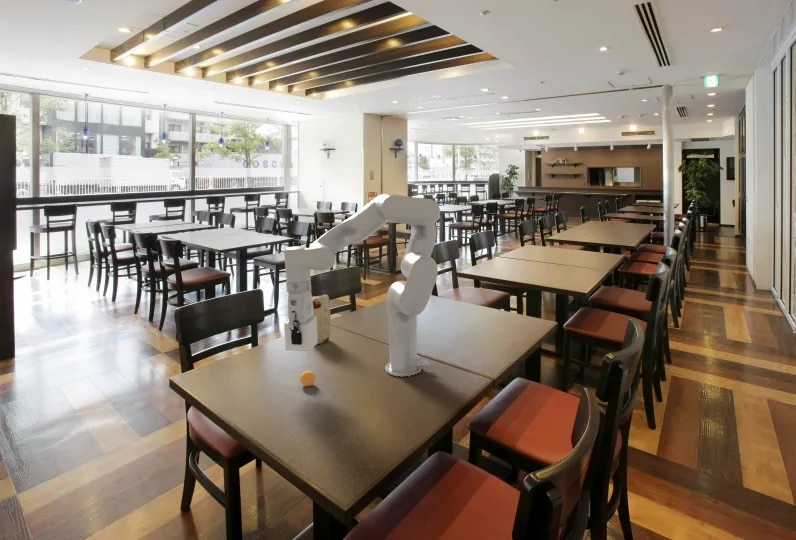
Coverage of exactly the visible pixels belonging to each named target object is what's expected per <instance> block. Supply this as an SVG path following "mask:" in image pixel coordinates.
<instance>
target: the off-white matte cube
mask: <svg viewBox="0 0 796 540" xmlns="http://www.w3.org/2000/svg"><path fill="white" fill-rule="evenodd" d="M295 322H298V321H295ZM288 323H289V319H288V320H286V321H285V322H284V323H283V325H284V326H283V328H284V329H283V330H284V342H285V351H294V352H296V351H297V352H310V351H311V350H312V349H314V347H315V346H317V345H318V344H317V343H318V338H317V319H316V317H312V318H311V319H310V320H309V321H307V322H306V323H305V324H302V323H301V324H300V327H301V329H300V332H301V334H302V344H301V345H295V344H292V341H291V332H290V328H289V325H288ZM295 326H296V327H297V328H298V325H296V324H295Z"/></svg>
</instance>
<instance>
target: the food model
mask: <svg viewBox="0 0 796 540" xmlns="http://www.w3.org/2000/svg"><path fill="white" fill-rule="evenodd" d="M312 300H313V309H314V315H313V317H316V319H317V338H318V343H317V344H316V345H318V344H324V343H326V342H329V340H330V334H331V318H332V317H331V306H330V305H331V304H330V298H329V295H328V294H322V295H317V296H312Z"/></svg>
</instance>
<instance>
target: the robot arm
mask: <svg viewBox="0 0 796 540" xmlns="http://www.w3.org/2000/svg"><path fill="white" fill-rule="evenodd" d="M440 215H441V208H440V206H439V204H438V203H437V201H435V200H433V199H432V198H424V197H423V198H422V197H415V196H414V197H413V196H408V195H407V196H406V195H400V194H395V193H382V194H379V195H377V196H376V197H375V198H374V199H372V200H370V202H368V203H367V204H366V205H364V206H363V207H362V208H361V209H359V210H358V211H357V212H355V213H354V214H352V215H351V216H350V217H348V218H347V219H345V220H344V221H342V222H341V223H339V224H337V225H335V227H332V228H331V229H329V230H328V231H327V232H325V233H324V234H323V235H322V236H320V237H319V238H318V239H316V240H315V241H313V243H311V244H310V246H309V247H306V246H303V245H298V246H297V245H295V246H289V247H286V248H285V250H284V252H283V254H284V268H285V283H286V293H288V294H287V295H288V296H287V302H288V303H287V314H288V315H287V316H288V320H289V323H288V325H289V328H290V332H291V341H292V344H295V345H301V344H302V334H301V332H300V329H301V327H300V324H301V323H302V324H305V323H306V322H307V321H309V320H310V319H311V318H312V317H313V315H314V309H313V300H312V297H313V294H312V279H311V277H312V276H311V275H312V274H311V270H314V271H315V270H317V271H326V270H329V269H331V268H333V267H334V265H335V264H336V261H337V256H336V254H337V253H338V252H339V251H342V249H344V248H345V247H347V246H350V245H353V244H357V243H360V242H363V241H365V240H367V239H368V238H369V237H371V236H372V235H373V234H375V233H376V232H377V231H378V230H380V229H381V228H383V226H385V225H387V223H388V222H391V223H397V224H404V225H410V228H411V231H410V237H409V240H408V243H407V245H406V249H405V252H404V254H403V257H402V259H401V263H400V271H401V273H402V275H404V276H405V277H406V280H398V281H395V282H393V283H392V284H391V285H390V286H389V287H388V290H387V292H386V293H387V294H386V301H387V307H388V308H387V309H388V319H389V321H388V323H389V327H388V329H389V332H388V333H389V335H388V337H389V362H388V363H387V364H385V372H386V373H387V374H388V375H391V376H395V377H399V376H400V377H402V378H403V377H404V376H405V377H404V378H406V376H408V377H412V376H411V375H413V376H415V374H416V375H418V374H419V373H420V372H422V368H425V369H430V364H431V363H430V361H427V359H420V358H419V357H420V355H418V318H417V317H418V316H419V315H421V314H422V313H423V312H424V310H425V309H426V307H427V305H428V304H429V301H430V298H431V295H432V292H433V289H434V287H435V284H436V281H437V278H438V273H439V269H438V268H439V267H438V264H437V262H436V260H435V259H434V258H432V254H433V251H434V247H435V244H436V239H437V226H436V222H437V221H438V220H439V218H440ZM295 321H298V322H295ZM295 324H296V325H298V328H297V327H296V326H295ZM417 373H418V374H417Z"/></svg>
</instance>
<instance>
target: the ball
mask: <svg viewBox="0 0 796 540" xmlns="http://www.w3.org/2000/svg"><path fill="white" fill-rule="evenodd" d="M316 378H317V377H316V374H315V372H313V371H311V370H305V371H303V372H302V373H301V374H300V376H299V381H300V383H301V385H303V386H304V387H311V386H313V385H314V384H315V383H316V381H317V379H316Z"/></svg>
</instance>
